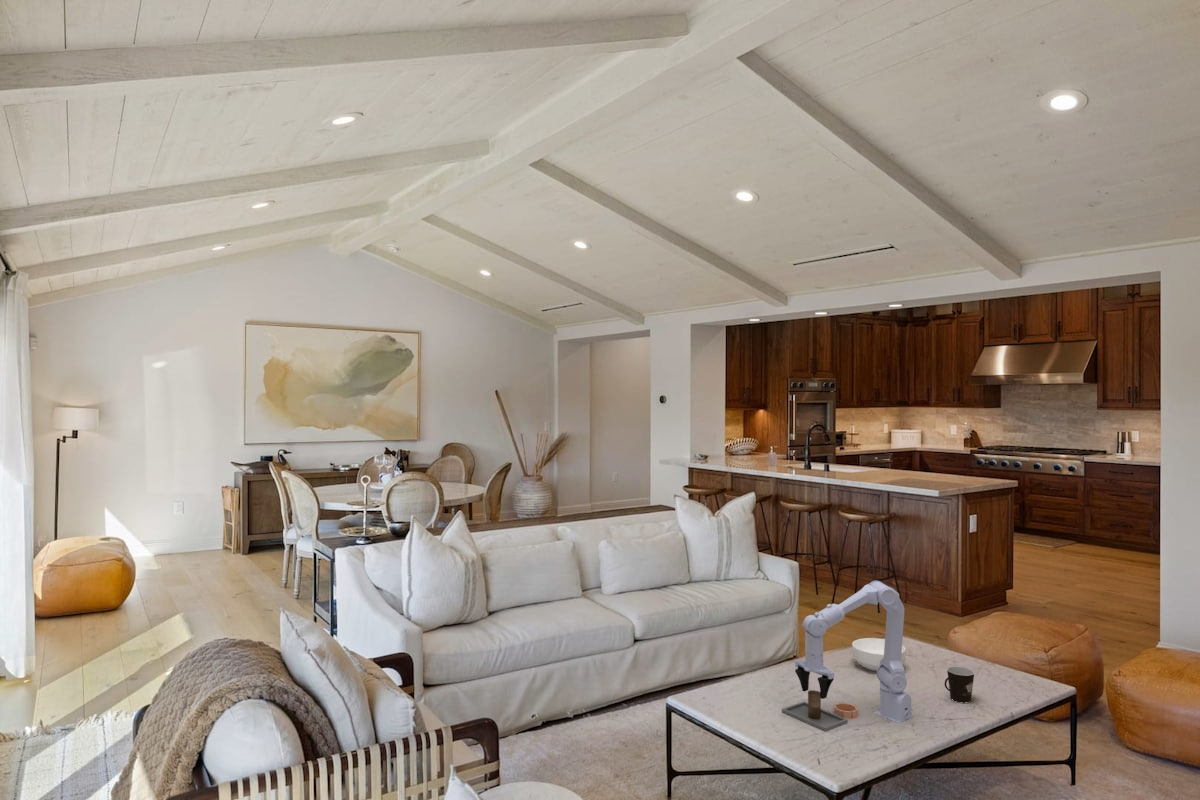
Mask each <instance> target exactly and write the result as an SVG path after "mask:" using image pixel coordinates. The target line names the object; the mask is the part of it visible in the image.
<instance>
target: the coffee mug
mask: <svg viewBox="0 0 1200 800" xmlns="http://www.w3.org/2000/svg"><path fill="white" fill-rule="evenodd" d="M946 670H947V677H946V679H945V680H944V687H945V688H946V690H947V691H948V692H949V696H950V700H951V699H953V700H954V701H953V700H952V701H953V702H955V701H958V702H969V701H971V700H972V694H973V689H974V688H973V686H974V681H975V671H974V670H972V669H970V668H966V667H962V666H948V668H947V669H946ZM947 682H948V686H947ZM958 702H957V703H958ZM971 702H972V701H971ZM969 703H970V702H969Z"/></svg>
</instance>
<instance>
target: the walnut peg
mask: <svg viewBox="0 0 1200 800" xmlns="http://www.w3.org/2000/svg"><path fill="white" fill-rule="evenodd" d="M821 701H822V699H821V696H820V690H814V689H813V690H811V689H810V690H809V691H808V690H807V703H808V717H809V718H811V719H820V718H821V709H822V707H821V705H822V704H821Z"/></svg>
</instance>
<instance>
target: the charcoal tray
mask: <svg viewBox="0 0 1200 800" xmlns="http://www.w3.org/2000/svg"><path fill="white" fill-rule="evenodd" d="M781 713H782V714H784V715H786V716H789V717H791V718H794V720H795V719H796V720H798V721H800V722H803V723H804V724H807V725H808V726H811V727H814V728H816V729H818V730H820V731H822V732H824V733H825V732H829V731H831V730H834V729H836V728H839V727H841V726H844V725H846V724H848V721H849V719H845V718H842V717H840V716H838V715H835V714H833V712H830V711H827V710H825V709H823V708H821V718H820V719H811V718H809V717H808V701H807V702H806V701H801V702H798V703H796V704H792V705H789V706H787V707H784V708H782V709H781Z"/></svg>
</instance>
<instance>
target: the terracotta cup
mask: <svg viewBox="0 0 1200 800" xmlns="http://www.w3.org/2000/svg"><path fill="white" fill-rule="evenodd" d="M832 713H833V714H835V715H838V716H840V717H842V718H845V719H847V720H855V719H858V718H859V716H860V714H859V709H858V706H857V705H855V704H852V703H848V702H838V703H835V704H833V710H832Z"/></svg>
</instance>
